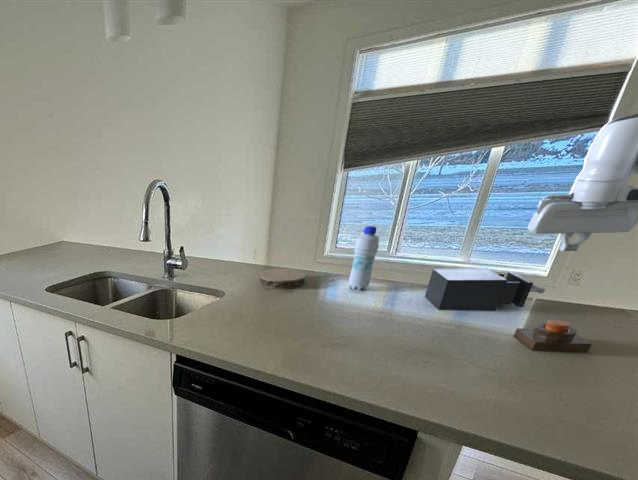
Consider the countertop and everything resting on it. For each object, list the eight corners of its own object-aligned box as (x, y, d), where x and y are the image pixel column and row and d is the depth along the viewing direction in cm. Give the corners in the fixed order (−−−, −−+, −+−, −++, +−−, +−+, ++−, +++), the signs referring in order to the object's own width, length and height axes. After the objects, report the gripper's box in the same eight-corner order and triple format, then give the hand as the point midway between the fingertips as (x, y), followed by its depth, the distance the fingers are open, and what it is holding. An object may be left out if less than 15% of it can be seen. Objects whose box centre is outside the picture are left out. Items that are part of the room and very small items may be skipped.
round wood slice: (258, 288, 144) (258, 280, 143) (260, 276, 157) (260, 268, 156) (306, 289, 139) (307, 280, 138) (303, 276, 152) (305, 268, 151)
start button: (560, 327, 92) (563, 319, 91) (570, 333, 89) (574, 325, 88) (540, 326, 93) (544, 319, 92) (550, 332, 90) (553, 325, 89)
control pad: (564, 338, 95) (572, 322, 93) (587, 353, 88) (596, 336, 86) (512, 336, 98) (519, 321, 96) (531, 351, 91) (538, 334, 89)
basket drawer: (522, 294, 117) (532, 271, 114) (543, 307, 109) (554, 282, 105) (454, 294, 122) (461, 272, 118) (468, 306, 113) (477, 282, 110)
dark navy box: (476, 297, 121) (487, 268, 117) (495, 310, 111) (507, 280, 107) (424, 296, 125) (432, 268, 120) (438, 309, 115) (447, 280, 111)
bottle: (371, 291, 132) (385, 227, 122) (348, 291, 134) (361, 228, 124) (366, 285, 138) (380, 223, 128) (345, 285, 140) (356, 224, 130)
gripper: (550, 196, 98) (525, 253, 105) (659, 192, 93) (626, 253, 100) (535, 193, 104) (513, 248, 111) (638, 189, 98) (608, 247, 105)
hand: (567, 250), depth 105 cm, fingers closed
